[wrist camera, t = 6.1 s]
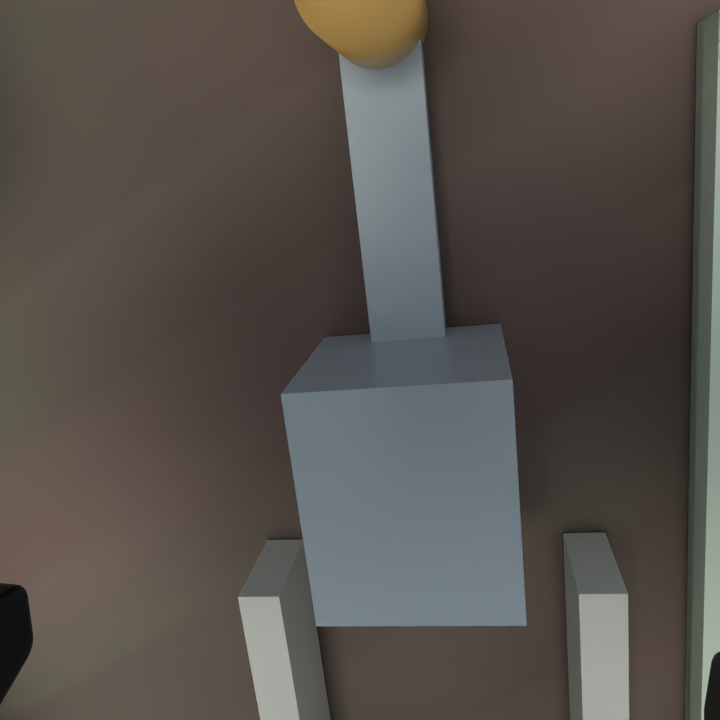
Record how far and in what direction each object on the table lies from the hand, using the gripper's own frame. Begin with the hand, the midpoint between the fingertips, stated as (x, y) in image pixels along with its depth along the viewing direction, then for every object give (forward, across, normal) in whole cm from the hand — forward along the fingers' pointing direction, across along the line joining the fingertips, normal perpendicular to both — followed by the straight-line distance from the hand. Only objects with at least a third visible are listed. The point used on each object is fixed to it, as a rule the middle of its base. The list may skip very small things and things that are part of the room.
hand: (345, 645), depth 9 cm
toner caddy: (+11, 0, -3) cm, 12 cm away
